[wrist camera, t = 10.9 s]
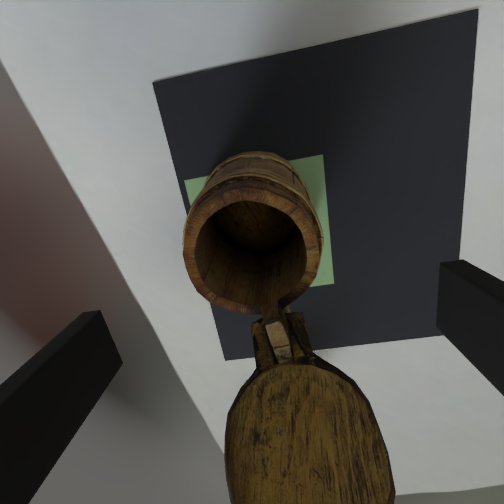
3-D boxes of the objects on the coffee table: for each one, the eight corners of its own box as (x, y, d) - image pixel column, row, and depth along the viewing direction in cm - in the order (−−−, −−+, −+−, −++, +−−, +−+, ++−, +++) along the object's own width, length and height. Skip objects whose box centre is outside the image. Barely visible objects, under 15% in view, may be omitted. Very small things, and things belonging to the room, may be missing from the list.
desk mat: (152, 83, 19) (152, 82, 19) (477, 9, 17) (478, 8, 17) (225, 359, 27) (225, 360, 27) (452, 333, 25) (453, 334, 25)
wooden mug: (239, 314, 25) (191, 630, 8) (184, 172, 21) (-129, 236, 4) (332, 290, 24) (495, 604, 7) (294, 134, 20) (463, 14, 3)
